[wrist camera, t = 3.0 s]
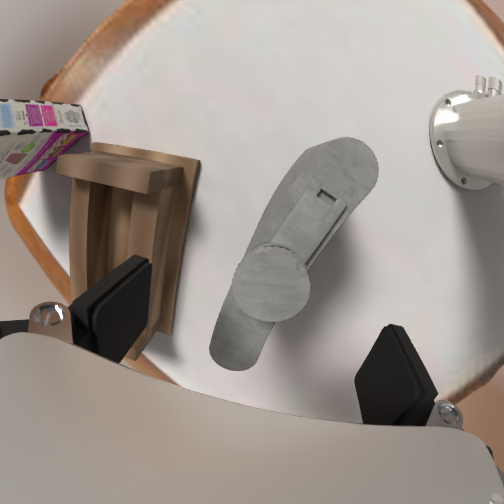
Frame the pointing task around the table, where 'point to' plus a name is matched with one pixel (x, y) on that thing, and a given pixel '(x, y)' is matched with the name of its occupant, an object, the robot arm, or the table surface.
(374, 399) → the robot arm
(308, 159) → the hip flask
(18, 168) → the candy bar box
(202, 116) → the table surface
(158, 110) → the table surface
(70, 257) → the brown rectangular open tray
